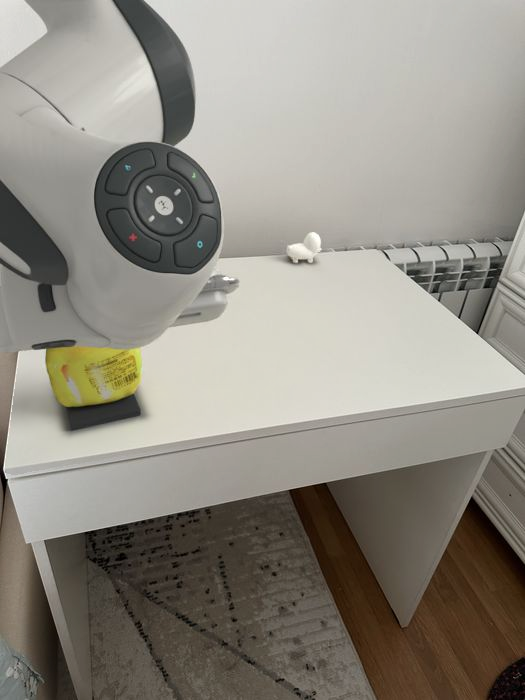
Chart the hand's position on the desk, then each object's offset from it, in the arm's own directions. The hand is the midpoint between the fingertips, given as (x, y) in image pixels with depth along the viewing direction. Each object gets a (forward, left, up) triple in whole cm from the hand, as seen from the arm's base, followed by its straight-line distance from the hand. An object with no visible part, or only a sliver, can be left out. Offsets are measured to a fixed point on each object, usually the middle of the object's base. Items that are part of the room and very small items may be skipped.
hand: (108, 329), depth 55 cm
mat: (0, +11, -19) cm, 22 cm away
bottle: (0, +11, -18) cm, 21 cm away
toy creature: (+49, +44, -19) cm, 68 cm away
